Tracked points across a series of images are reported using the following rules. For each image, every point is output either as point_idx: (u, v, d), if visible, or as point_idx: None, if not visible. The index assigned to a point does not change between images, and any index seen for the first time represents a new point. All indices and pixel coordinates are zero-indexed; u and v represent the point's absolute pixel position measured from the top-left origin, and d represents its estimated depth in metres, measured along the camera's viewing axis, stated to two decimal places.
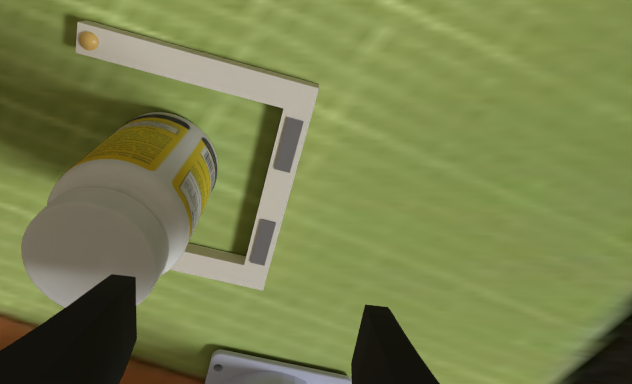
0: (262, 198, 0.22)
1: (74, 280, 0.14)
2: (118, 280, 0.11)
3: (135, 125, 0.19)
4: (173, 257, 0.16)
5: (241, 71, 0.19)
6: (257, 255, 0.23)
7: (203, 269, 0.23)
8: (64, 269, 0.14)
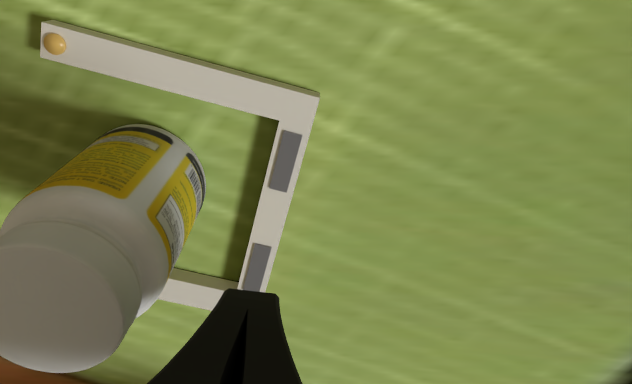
0: (256, 220, 0.19)
1: (26, 333, 0.12)
2: (239, 295, 0.12)
3: (108, 141, 0.16)
4: (149, 299, 0.14)
5: (231, 78, 0.17)
6: (251, 282, 0.20)
7: (190, 298, 0.21)
8: (13, 321, 0.12)
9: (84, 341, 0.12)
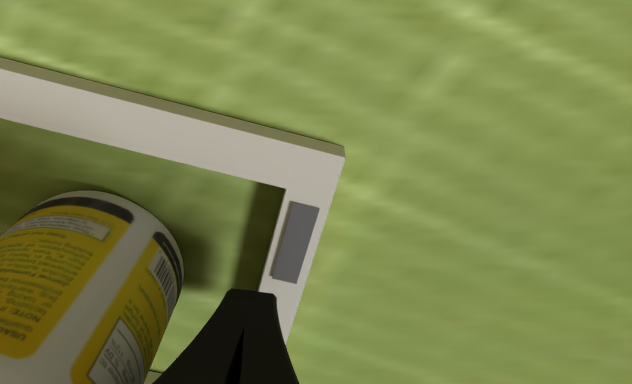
0: None
1: None
2: (242, 295, 0.12)
3: (33, 226, 0.11)
4: None
5: (215, 131, 0.11)
6: None
7: None
8: None
9: None
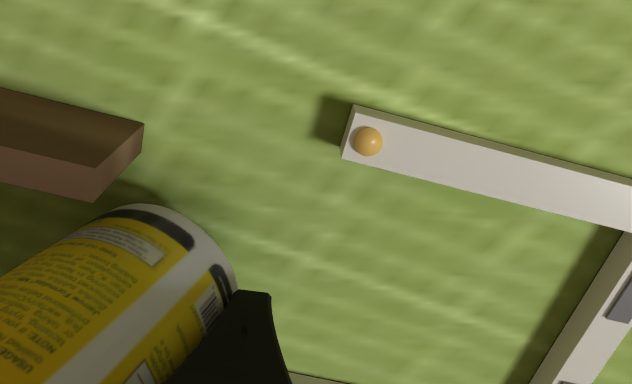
0: (572, 355, 0.14)
1: None
2: (249, 296, 0.12)
3: (91, 237, 0.11)
4: None
5: (599, 184, 0.12)
6: None
7: None
8: None
9: None
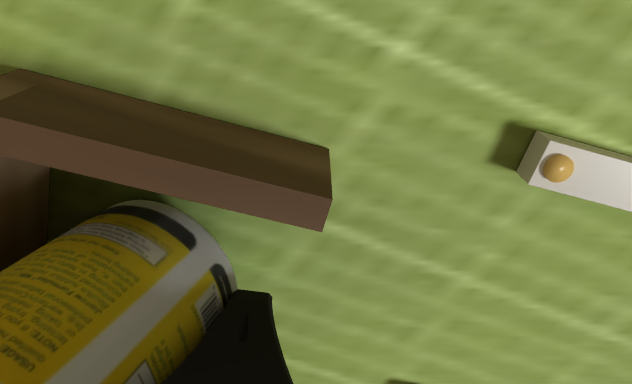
0: None
1: None
2: (248, 296, 0.12)
3: (93, 233, 0.11)
4: None
5: None
6: None
7: None
8: None
9: None
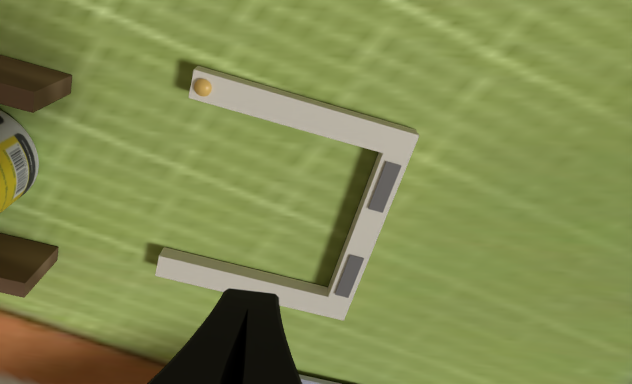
0: (353, 235, 0.22)
1: None
2: (239, 295, 0.12)
3: None
4: None
5: (346, 118, 0.20)
6: (342, 287, 0.24)
7: (288, 300, 0.24)
8: None
9: None
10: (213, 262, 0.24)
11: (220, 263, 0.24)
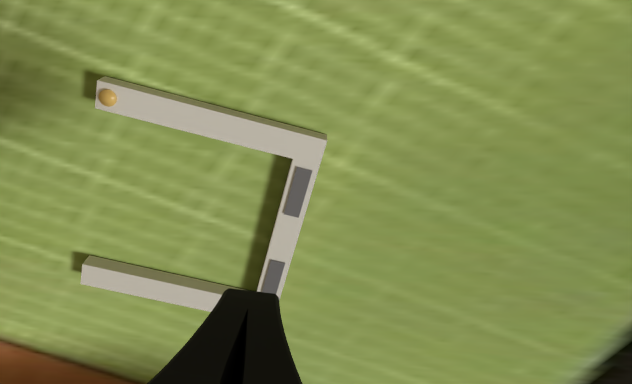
0: (272, 240, 0.23)
1: None
2: (238, 295, 0.12)
3: None
4: None
5: (253, 125, 0.20)
6: (267, 292, 0.24)
7: (215, 305, 0.24)
8: None
9: None
10: (138, 269, 0.24)
11: (146, 270, 0.24)
